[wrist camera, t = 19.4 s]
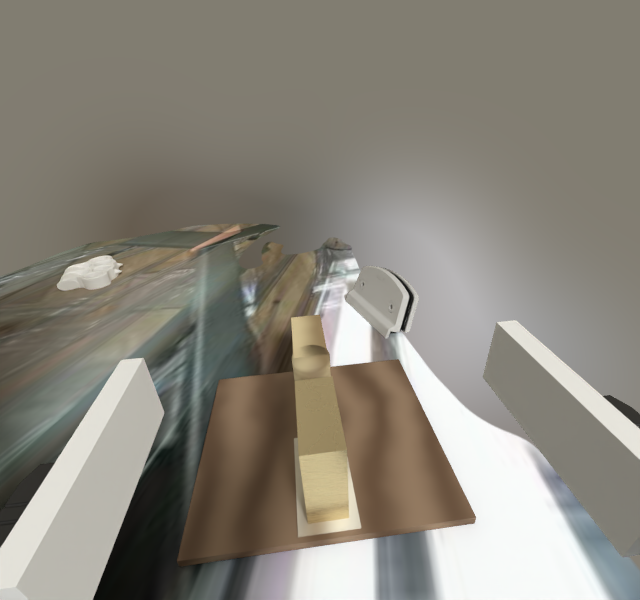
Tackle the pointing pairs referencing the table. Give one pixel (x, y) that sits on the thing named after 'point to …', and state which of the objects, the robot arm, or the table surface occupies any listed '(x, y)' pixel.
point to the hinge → (384, 300)
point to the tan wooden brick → (321, 450)
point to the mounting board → (284, 467)
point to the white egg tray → (90, 274)
